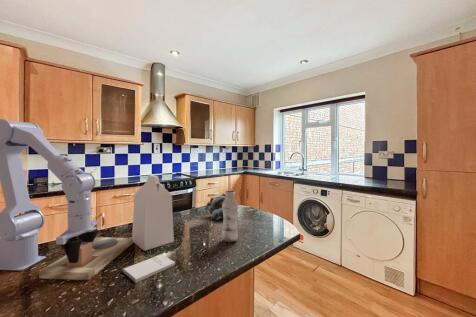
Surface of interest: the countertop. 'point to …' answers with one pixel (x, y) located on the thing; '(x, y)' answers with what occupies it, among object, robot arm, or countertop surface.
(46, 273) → the pocket board
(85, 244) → the terracotta block
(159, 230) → the milk
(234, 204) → the plastic bottle
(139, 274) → the external hard drive
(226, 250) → the countertop surface
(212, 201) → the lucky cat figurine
